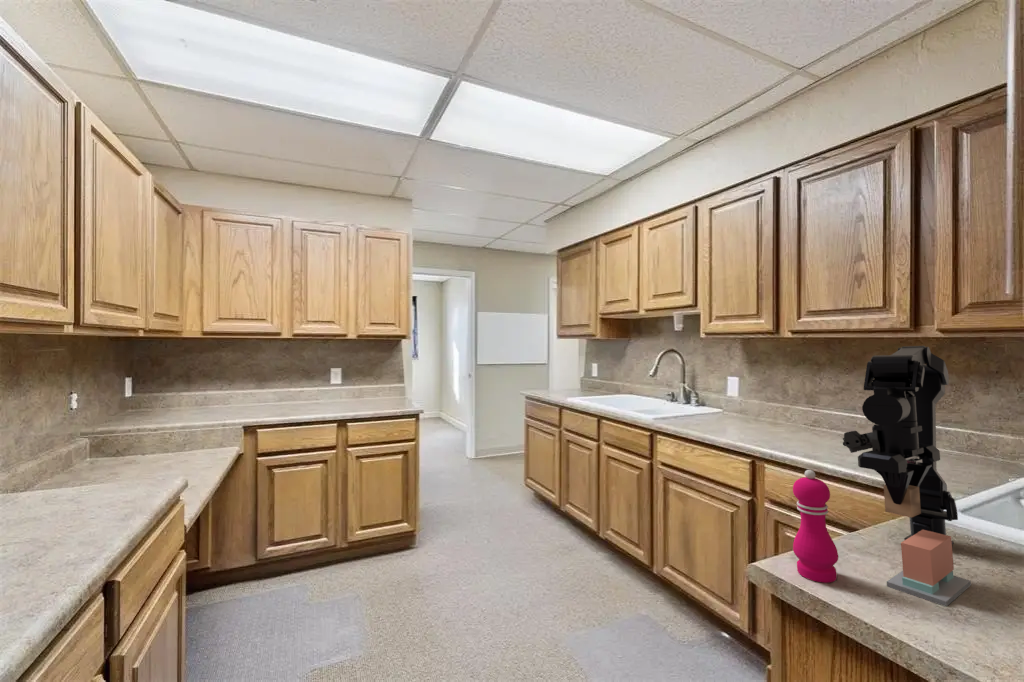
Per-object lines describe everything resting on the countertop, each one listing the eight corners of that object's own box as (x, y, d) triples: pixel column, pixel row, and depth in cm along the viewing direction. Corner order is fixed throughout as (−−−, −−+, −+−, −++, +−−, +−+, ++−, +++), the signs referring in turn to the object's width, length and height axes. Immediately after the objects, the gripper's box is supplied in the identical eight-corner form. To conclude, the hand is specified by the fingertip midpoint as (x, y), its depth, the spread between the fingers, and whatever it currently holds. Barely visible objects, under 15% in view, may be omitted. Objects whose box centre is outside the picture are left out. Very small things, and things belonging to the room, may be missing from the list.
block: (894, 507, 88) (893, 482, 88) (920, 513, 84) (919, 486, 84) (885, 511, 86) (883, 485, 86) (911, 517, 82) (909, 490, 82)
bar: (925, 561, 84) (922, 529, 85) (953, 569, 81) (951, 536, 81) (903, 576, 79) (900, 542, 80) (932, 586, 76) (930, 550, 76)
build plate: (913, 567, 86) (912, 557, 86) (971, 585, 79) (970, 573, 79) (886, 586, 80) (886, 574, 80) (946, 606, 73) (945, 594, 73)
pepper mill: (796, 579, 84) (789, 473, 84) (792, 563, 90) (786, 464, 91) (843, 587, 80) (835, 476, 81) (836, 569, 87) (829, 466, 87)
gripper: (871, 412, 97) (876, 484, 96) (825, 420, 88) (830, 499, 87) (938, 417, 87) (944, 497, 87) (894, 426, 78) (900, 516, 78)
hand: (902, 501), depth 85 cm, fingers closed on block, 4 cm apart
